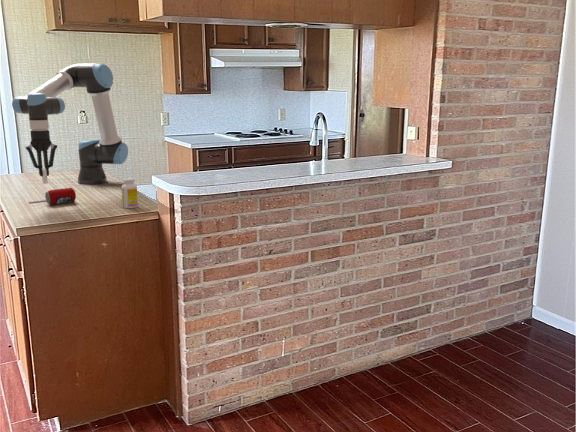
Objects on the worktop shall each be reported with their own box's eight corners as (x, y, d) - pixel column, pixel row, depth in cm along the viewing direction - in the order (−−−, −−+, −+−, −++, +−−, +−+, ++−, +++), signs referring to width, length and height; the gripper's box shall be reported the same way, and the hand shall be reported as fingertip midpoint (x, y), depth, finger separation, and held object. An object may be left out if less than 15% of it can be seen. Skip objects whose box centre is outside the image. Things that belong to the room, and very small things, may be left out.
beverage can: (73, 203, 259) (46, 206, 252) (70, 189, 260) (43, 192, 252) (77, 200, 254) (50, 203, 247) (74, 185, 255) (47, 189, 247)
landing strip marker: (68, 198, 265) (68, 197, 265) (69, 198, 264) (69, 198, 264) (28, 202, 255) (28, 202, 255) (29, 203, 253) (29, 202, 253)
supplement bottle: (141, 206, 250) (139, 178, 247) (132, 209, 244) (130, 180, 241) (128, 204, 252) (126, 177, 249) (119, 208, 246) (117, 179, 243)
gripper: (53, 128, 246) (58, 180, 252) (21, 129, 239) (27, 183, 244) (57, 129, 240) (62, 182, 246) (25, 131, 233) (31, 186, 239)
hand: (45, 183), depth 245 cm, fingers closed
